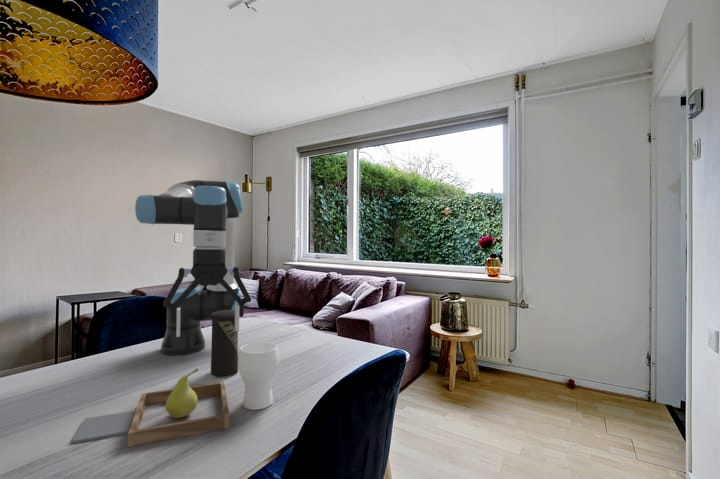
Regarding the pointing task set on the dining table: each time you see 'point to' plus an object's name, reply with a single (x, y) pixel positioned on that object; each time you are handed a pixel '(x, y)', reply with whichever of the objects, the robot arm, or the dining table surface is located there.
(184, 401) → the fruit
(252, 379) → the cup
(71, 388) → the dining table surface
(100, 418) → the slate coaster
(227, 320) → the container
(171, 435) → the walnut frame
